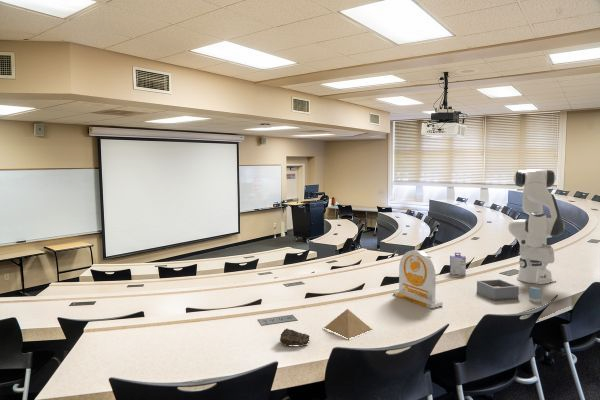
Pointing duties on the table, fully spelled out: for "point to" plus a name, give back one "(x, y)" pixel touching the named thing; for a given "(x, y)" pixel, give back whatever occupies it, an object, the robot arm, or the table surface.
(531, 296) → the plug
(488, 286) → the walled box
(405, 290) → the award
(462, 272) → the ink cartridge box
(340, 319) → the model pyramid
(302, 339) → the dark brown rock
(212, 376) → the table surface
